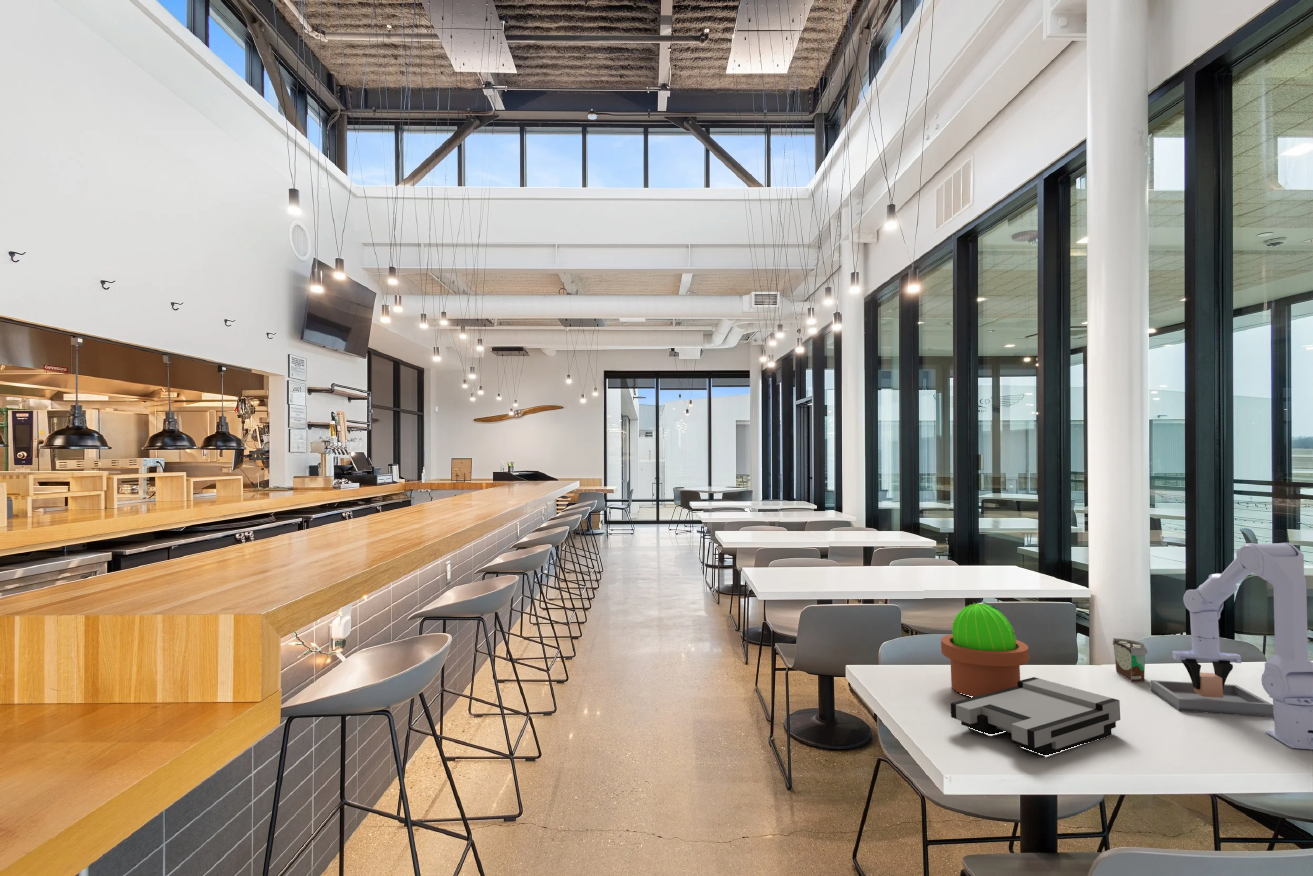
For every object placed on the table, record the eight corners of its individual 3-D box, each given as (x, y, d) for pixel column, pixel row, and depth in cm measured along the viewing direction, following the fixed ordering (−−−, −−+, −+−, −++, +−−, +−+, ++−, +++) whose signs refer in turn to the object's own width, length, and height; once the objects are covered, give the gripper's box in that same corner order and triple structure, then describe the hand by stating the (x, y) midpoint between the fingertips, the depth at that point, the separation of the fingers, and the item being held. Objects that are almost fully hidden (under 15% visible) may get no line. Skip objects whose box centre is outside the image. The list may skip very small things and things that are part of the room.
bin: (1273, 717, 166) (1273, 704, 166) (1179, 711, 171) (1178, 699, 171) (1236, 696, 181) (1236, 684, 182) (1151, 691, 187) (1150, 680, 187)
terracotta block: (1223, 697, 174) (1222, 678, 174) (1202, 696, 175) (1201, 677, 175) (1213, 692, 178) (1212, 673, 178) (1193, 691, 179) (1192, 672, 180)
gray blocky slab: (951, 733, 160) (950, 697, 161) (1035, 709, 175) (1034, 677, 176) (1035, 765, 142) (1033, 726, 142) (1121, 736, 157) (1119, 700, 157)
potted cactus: (953, 703, 180) (950, 608, 181) (935, 678, 201) (931, 593, 202) (1043, 707, 176) (1038, 610, 177) (1014, 681, 197) (1010, 595, 199)
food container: (1158, 684, 192) (1156, 649, 193) (1134, 683, 193) (1132, 648, 194) (1136, 671, 204) (1134, 638, 205) (1114, 671, 206) (1112, 637, 206)
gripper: (1229, 634, 179) (1232, 686, 178) (1165, 631, 183) (1168, 682, 182) (1244, 640, 172) (1247, 694, 172) (1178, 637, 176) (1181, 690, 175)
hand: (1208, 689), depth 177 cm, fingers closed on terracotta block, 4 cm apart
